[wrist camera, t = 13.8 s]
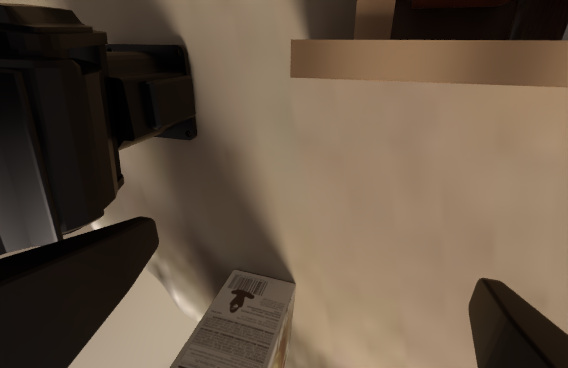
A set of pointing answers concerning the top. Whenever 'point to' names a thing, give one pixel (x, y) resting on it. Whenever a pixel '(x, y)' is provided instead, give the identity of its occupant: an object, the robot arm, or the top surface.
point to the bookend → (540, 20)
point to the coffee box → (243, 326)
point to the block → (456, 3)
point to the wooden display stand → (427, 56)
